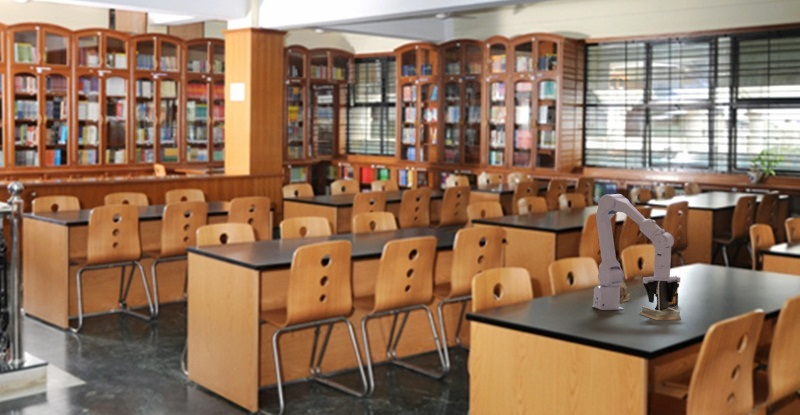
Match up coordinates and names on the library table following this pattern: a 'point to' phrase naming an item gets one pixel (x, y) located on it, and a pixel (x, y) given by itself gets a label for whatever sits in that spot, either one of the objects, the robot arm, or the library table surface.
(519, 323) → the library table surface
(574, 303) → the library table surface
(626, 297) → the ceramic model
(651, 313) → the battery dock
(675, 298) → the ammunition clip
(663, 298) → the battery
